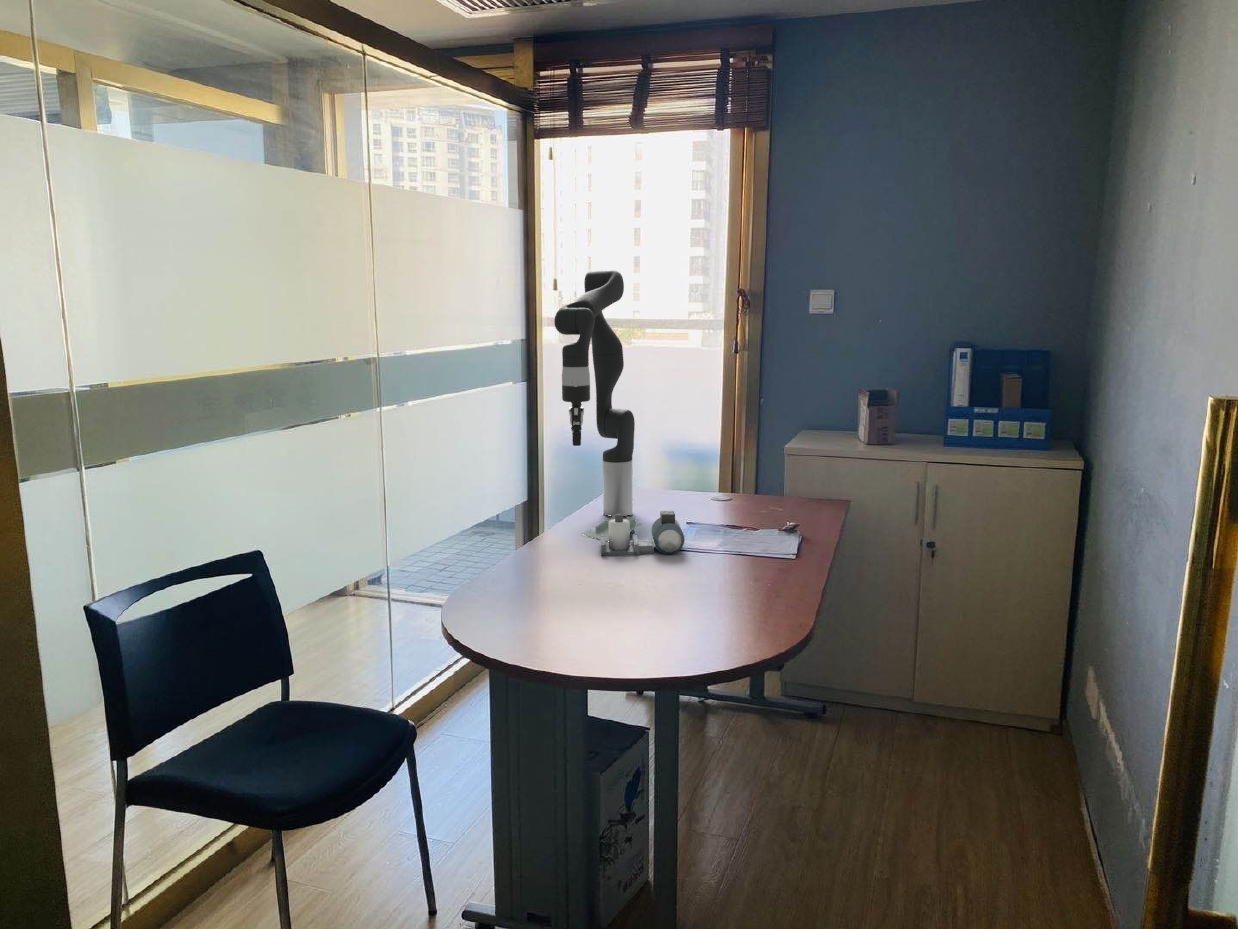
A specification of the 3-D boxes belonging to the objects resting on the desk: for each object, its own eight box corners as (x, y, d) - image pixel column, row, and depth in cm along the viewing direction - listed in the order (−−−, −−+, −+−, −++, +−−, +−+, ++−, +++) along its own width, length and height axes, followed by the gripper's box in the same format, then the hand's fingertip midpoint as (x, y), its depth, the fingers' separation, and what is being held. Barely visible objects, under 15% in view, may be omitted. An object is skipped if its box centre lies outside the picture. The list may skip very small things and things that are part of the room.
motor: (600, 545, 244) (600, 509, 242) (680, 544, 244) (680, 508, 242) (601, 557, 233) (600, 519, 231) (684, 555, 233) (685, 517, 232)
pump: (608, 544, 241) (608, 512, 240) (629, 543, 242) (629, 512, 240) (609, 549, 236) (608, 517, 234) (630, 549, 236) (629, 517, 235)
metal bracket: (610, 509, 263) (647, 517, 252) (614, 526, 265) (651, 535, 254) (576, 531, 254) (613, 540, 243) (581, 549, 256) (618, 559, 245)
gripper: (562, 381, 245) (563, 439, 248) (561, 385, 231) (562, 447, 234) (589, 380, 246) (590, 439, 248) (589, 385, 232) (590, 447, 234)
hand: (577, 443), depth 241 cm, fingers open, 8 cm apart
